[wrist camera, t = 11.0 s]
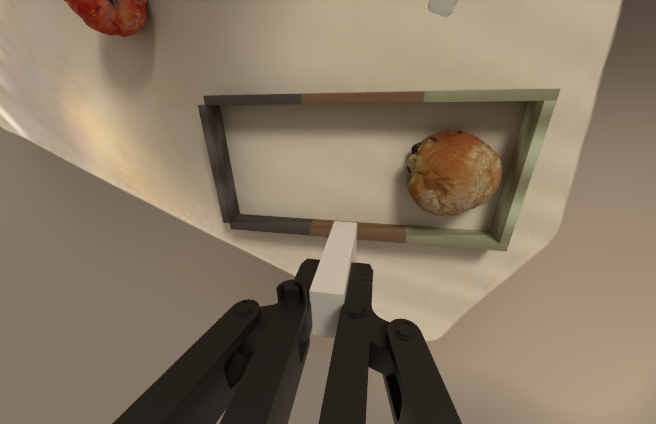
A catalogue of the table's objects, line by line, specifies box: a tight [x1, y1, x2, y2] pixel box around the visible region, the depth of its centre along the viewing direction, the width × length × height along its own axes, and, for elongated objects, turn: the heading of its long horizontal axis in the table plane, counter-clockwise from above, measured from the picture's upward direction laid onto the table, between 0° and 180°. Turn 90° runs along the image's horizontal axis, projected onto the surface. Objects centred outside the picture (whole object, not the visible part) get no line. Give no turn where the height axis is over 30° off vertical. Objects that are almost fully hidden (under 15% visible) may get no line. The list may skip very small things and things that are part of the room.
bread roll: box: [405, 130, 502, 216], centre depth 30 cm, size 10×10×8 cm
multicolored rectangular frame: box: [198, 89, 560, 251], centre depth 32 cm, size 18×38×3 cm, turn 91°
